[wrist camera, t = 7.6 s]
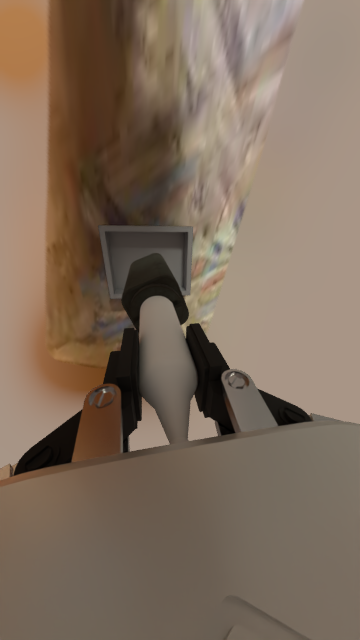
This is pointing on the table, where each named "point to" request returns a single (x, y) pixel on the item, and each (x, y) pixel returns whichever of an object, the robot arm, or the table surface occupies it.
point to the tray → (145, 252)
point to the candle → (161, 343)
